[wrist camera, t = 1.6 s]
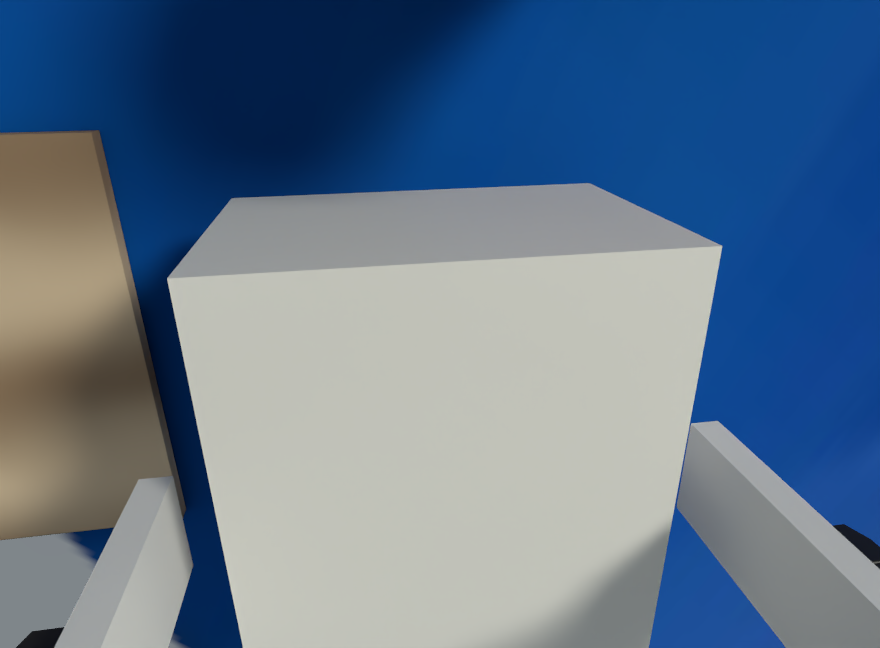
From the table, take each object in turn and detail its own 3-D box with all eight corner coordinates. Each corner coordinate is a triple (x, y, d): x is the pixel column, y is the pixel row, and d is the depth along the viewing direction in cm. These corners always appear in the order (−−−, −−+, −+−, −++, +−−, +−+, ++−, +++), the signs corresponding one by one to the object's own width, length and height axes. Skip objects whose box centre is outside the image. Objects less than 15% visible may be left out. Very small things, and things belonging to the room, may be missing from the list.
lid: (231, 198, 16) (167, 278, 10) (589, 183, 17) (722, 245, 11) (286, 563, 21) (266, 761, 15) (558, 529, 22) (639, 698, 16)
